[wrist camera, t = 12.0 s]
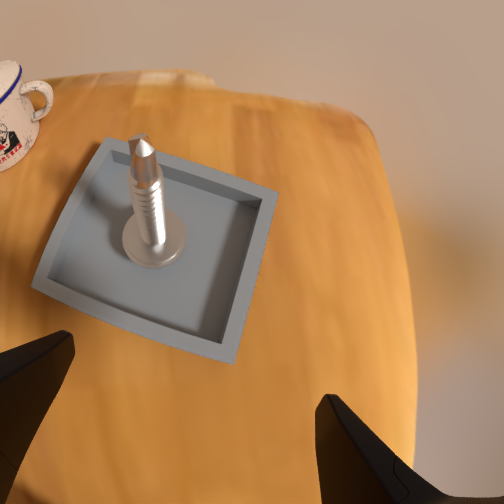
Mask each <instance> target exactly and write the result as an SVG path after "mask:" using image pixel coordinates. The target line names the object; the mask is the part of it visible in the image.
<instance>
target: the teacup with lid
mask: <svg viewBox="0 0 504 504" xmlns="http://www.w3.org/2000/svg"><path fill="white" fill-rule="evenodd" d="M21 73H22V68H21V66H20V65H19V64H18V63H17V62H16V61H13V60H5V61H1V62H0V172H2V171H5V170H7V169H9V168H10V167H12V166H14V165H15V164H16V163H17V162H19V161H20V160H21V159H22V158H23V157H24V156H25V155H26V154H27V152H28V151H29V150H30V149H31V147H32V146H33V144H34V142H35V140H36V138H37V135H38V132H39V120H40V119H42V118H43V117H45V116H46V115H47V114H48V113H49V111H50V109H51V107H52V104H53V99H54V94H53V90H52V88H51V86H50V85H49V84H48V83H46V82H44V81H38V80H37V81H31V82H28V83H25V84H24V81H23V78H22V76H21ZM31 91H38V92H41V93H43V94H44V96H45V98H46V105H45V106H44V107H43V108H42V109H40V110H38V111H36V112H35V110H34V108H33V105H32V103H31V100H30V98H29V95H28V92H31Z"/></svg>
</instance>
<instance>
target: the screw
mask: <svg viewBox="0 0 504 504" xmlns="http://www.w3.org/2000/svg"><path fill="white" fill-rule="evenodd" d="M128 142H129V149H130V155H131V161H132V163H131V166H130V168H129V169H128V172H127V177H128V179H127V184H128V190H129V193H130V198H131V202H132V206H133V209H134V213H135V214H133V215H132V216H131V218H130V219H129V220H128V221H127V223H126V225H125V227H124V230H123V236H122V241H123V247H124V249H125V252H126V254H127V255H128V257H129V258H130V259H131V260H132V261H133V262H134V263H135V264H137V265H139V266H140V267H143V268H146V269H161V268H164V267H167V266H169V265H171V264H172V263H174V262H175V261H176V260H177V259H178V258H179V257H180V256H181V254H182V252H183V251H184V248H185V245H186V237H187V235H186V229H185V226H184V223H183V222H182V220H181V218H180V217H179V216H178V215H177V214H176V213H174V212H173V211H171V210H170V209H167V208H165V196H164V195H165V192H164V177H163V172H162V169H161V167H160V166H159V165H158V164H157V159H156V152H155V149H154V148H153V146H152V144H151V141H150V139H149V137H148V136H147V134H145V133H140V134H137V135H134V136H133V137H131V138H130V139H129V140H128Z"/></svg>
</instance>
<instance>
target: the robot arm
mask: <svg viewBox="0 0 504 504" xmlns="http://www.w3.org/2000/svg"><path fill="white" fill-rule="evenodd" d="M74 356H75V346H74V339H73V335H72V334H71V333H69V332H67V331H65V330H61V331H58V332H55V333H53V334H50V335H47V336H45V337H42V338H39V339H37V340H34V341H31V342H29V343H26V344H23V345H21V346H18V347H15V348H13V349H10V350H7V351H5V352H2V353H0V504H5V502H6V500H7V497H8V494H9V492H10V489H11V487H12V484H13V482H14V480H15V477H16V475H17V471H18V470H19V468H20V465H21V463H22V461H23V459H24V457H25V454H26V452H27V450H28V448H29V446H30V444H31V442H32V440H33V438H34V436H35V434H36V432H37V430H38V428H39V426H40V424H41V422H42V420H43V418H44V417H45V415H46V413H47V411H48V409H49V407H50V406H51V404H52V402H53V400H54V398H55V397H56V395H57V393H58V391H59V389H60V387H61V385H62V383H63V381H64V378H65V376H66V374H67V372H68V369H69V367H70V365H71V363H72V361H73V358H74ZM315 448H316V458H317V466H318V474H319V482H320V491H321V500H322V504H504V496H501V497H493V498H492V497H491V498H473V497H469V498H468V497H453V496H449V495H446V494H444V493H442V492H441V491H439V490H438V489H437V488H435V487H434V486H432V485H431V484H430V483H429V482H427V481H426V480H424V479H423V478H422V477H421V476H419V475H418V474H417V473H416V472H414V471H413V470H412V469H411V468H410V467H409V466H407V465H406V464H405V463H404V462H403V461H402V460H401V459H400V458H399V457H398V456H397V455H395V453H394V452H393V451H392V450H391V449H390V448H389V447H388V446H387V445H386V444H385V443H384V442H383V441H382V440H381V439H380V438H379V437H378V436H377V435H376V434H375V433H374V432H373V431H372V430H371V429H370V428H369V427H368V426H367V425H366V424H365V423H364V422H363V421H362V420H361V419H360V418H359V417H358V416H357V415H356V414H355V413H354V412H353V411H352V410H351V409H350V408H349V407H348V406H347V405H346V404H345V403H344V402H343V401H342V400H341V399H340V398H339V396H337V395H335V394H325V395H324V396H323V398H322V400H321V401H320V403H319V405H318V406H317V408H316V411H315Z"/></svg>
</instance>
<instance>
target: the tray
mask: <svg viewBox="0 0 504 504" xmlns="http://www.w3.org/2000/svg"><path fill="white" fill-rule="evenodd" d="M155 152H156V159H157V164H158V165H159V166H160V167H161V169H162V172H163V177H164V192H165V195H164V196H165V208H167V209H170V210H171V211H173V212H174V213H176V214H177V215H178V216H179V217H180V218H181V220H182V222H183V223H184V226H185V229H186V235H187V237H186V245H185V248H184V251H183V252H182V254H181V256H180V257H179V258H178V259H177V260H176V261H175V262H174V263H172V264H171V265H169V266H167V267H164V268H161V269H146V268H143V267H140V266H139V265H137V264H135V263H134V262H133V261H132V260H131V259H130V258H129V257H128V255H127V254H126V252H125V249H124V247H123V241H122V236H123V230H124V227H125V225H126V223H127V221H128V220H129V219H130V218H131V216H132V215H133V214H135V213H134V209H133V206H132V202H131V198H130V193H129V190H128V184H127V179H128V177H127V172H128V169H129V168H130V166H131V163H132V161H131V155H130V149H129V143H128V142H125V141H121V140H117V139H113V138H110V137H106V138H105V139H104V141H103V142H102V144H101V145H100V147H99V148H98V150H97V152H96V153H95V155H94V156H93V158H92V159H91V161H90V163H89V164H88V166H87V167H86V169H85V171H84V172H83V174H82V176H81V178H80V179H79V181H78V183H77V185H76V186H75V188H74V190H73V192H72V194H71V195H70V197H69V199H68V201H67V203H66V205H65V207H64V209H63V211H62V213H61V215H60V217H59V219H58V221H57V223H56V225H55V227H54V230H53V232H52V234H51V236H50V238H49V241H48V243H47V245H46V248H45V250H44V252H43V255H42V257H41V260H40V262H39V265H38V267H37V270H36V273H35V275H34V278H33V281H32V284H31V287H32V288H34V289H36V290H38V291H40V292H41V293H43V294H45V295H47V296H49V297H51V298H53V299H55V300H57V301H59V302H62V303H64V304H66V305H68V306H70V307H72V308H74V309H76V310H79V311H81V312H83V313H85V314H88V315H90V316H92V317H94V318H97V319H99V320H102V321H104V322H106V323H109V324H111V325H114V326H116V327H119V328H121V329H124V330H126V331H129V332H132V333H134V334H137V335H140V336H142V337H145V338H148V339H151V340H154V341H156V342H159V343H162V344H165V345H168V346H171V347H174V348H177V349H180V350H184V351H187V352H190V353H193V354H197V355H200V356H203V357H207V358H210V359H214V360H217V361H221V362H225V363H229V364H232V365H234V362H235V358H236V354H237V351H238V347H239V343H240V340H241V336H242V332H243V328H244V325H245V321H246V317H247V313H248V310H249V306H250V302H251V298H252V295H253V291H254V287H255V283H256V279H257V276H258V272H259V268H260V264H261V260H262V256H263V253H264V249H265V245H266V241H267V237H268V233H269V229H270V225H271V222H272V218H273V214H274V210H275V206H276V202H277V198H278V194H279V192H276V191H274V190H271V189H268V188H266V187H263V186H260V185H258V184H255V183H252V182H250V181H247V180H244V179H241V178H239V177H236V176H233V175H230V174H227V173H224V172H221V171H219V170H216V169H213V168H210V167H207V166H204V165H201V164H198V163H195V162H191V161H188V160H185V159H182V158H179V157H176V156H173V155H169V154H166V153H163V152H159V151H156V150H155Z"/></svg>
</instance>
